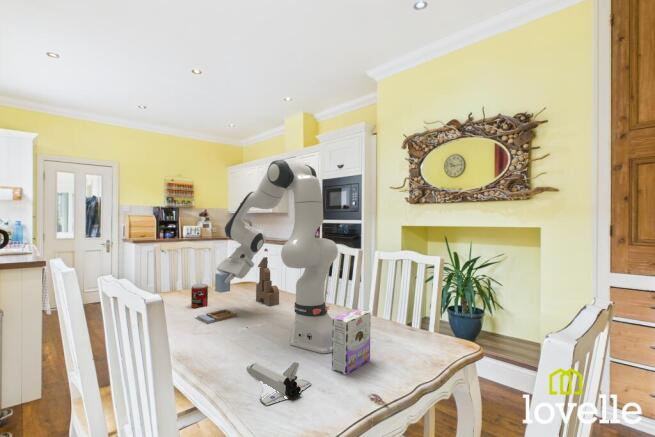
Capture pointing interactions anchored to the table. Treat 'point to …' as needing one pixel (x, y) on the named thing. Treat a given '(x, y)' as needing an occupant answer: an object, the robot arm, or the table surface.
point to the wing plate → (206, 318)
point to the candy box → (350, 341)
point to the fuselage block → (221, 282)
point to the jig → (220, 316)
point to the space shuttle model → (279, 382)
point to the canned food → (199, 295)
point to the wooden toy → (266, 286)
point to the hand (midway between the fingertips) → (221, 281)
